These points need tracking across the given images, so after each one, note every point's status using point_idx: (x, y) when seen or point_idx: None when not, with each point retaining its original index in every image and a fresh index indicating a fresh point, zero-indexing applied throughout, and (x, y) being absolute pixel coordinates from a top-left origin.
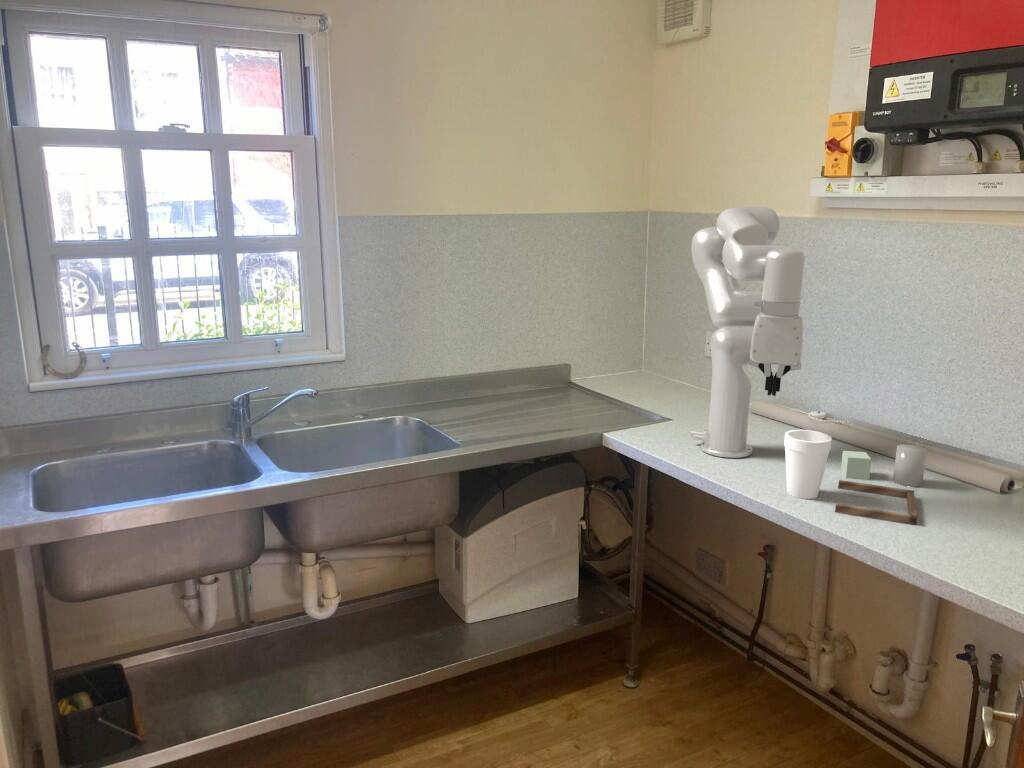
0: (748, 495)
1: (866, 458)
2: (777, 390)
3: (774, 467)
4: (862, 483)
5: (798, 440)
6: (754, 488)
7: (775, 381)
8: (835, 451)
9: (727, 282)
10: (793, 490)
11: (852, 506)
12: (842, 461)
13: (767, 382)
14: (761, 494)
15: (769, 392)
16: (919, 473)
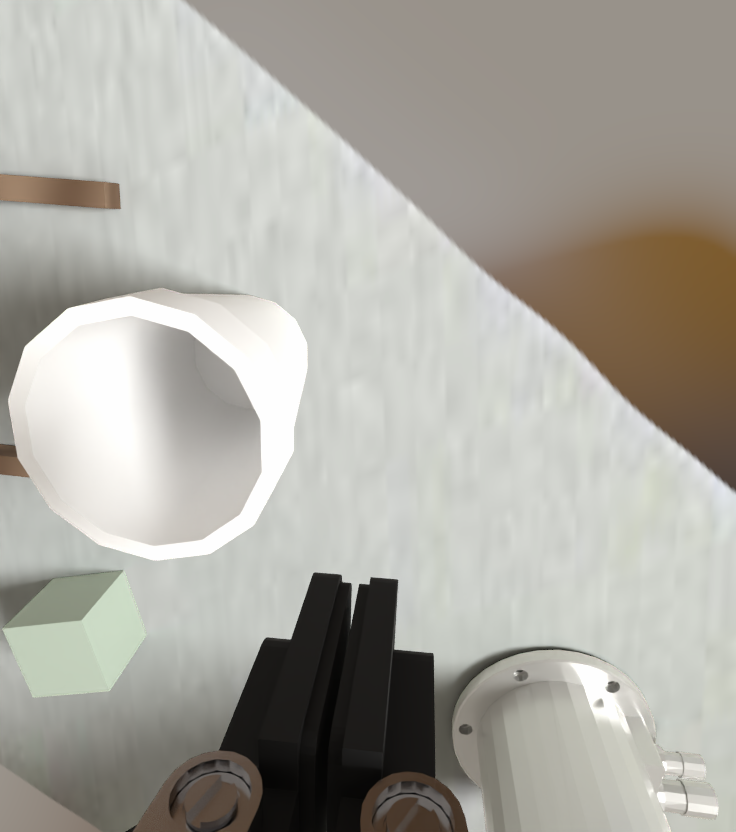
0: (455, 249)
1: (18, 628)
2: (286, 641)
3: None
4: None
5: (185, 313)
6: (433, 344)
7: (289, 696)
8: None
9: None
10: (276, 308)
11: (43, 195)
12: (126, 653)
13: (406, 719)
14: (403, 282)
15: (376, 590)
16: None
